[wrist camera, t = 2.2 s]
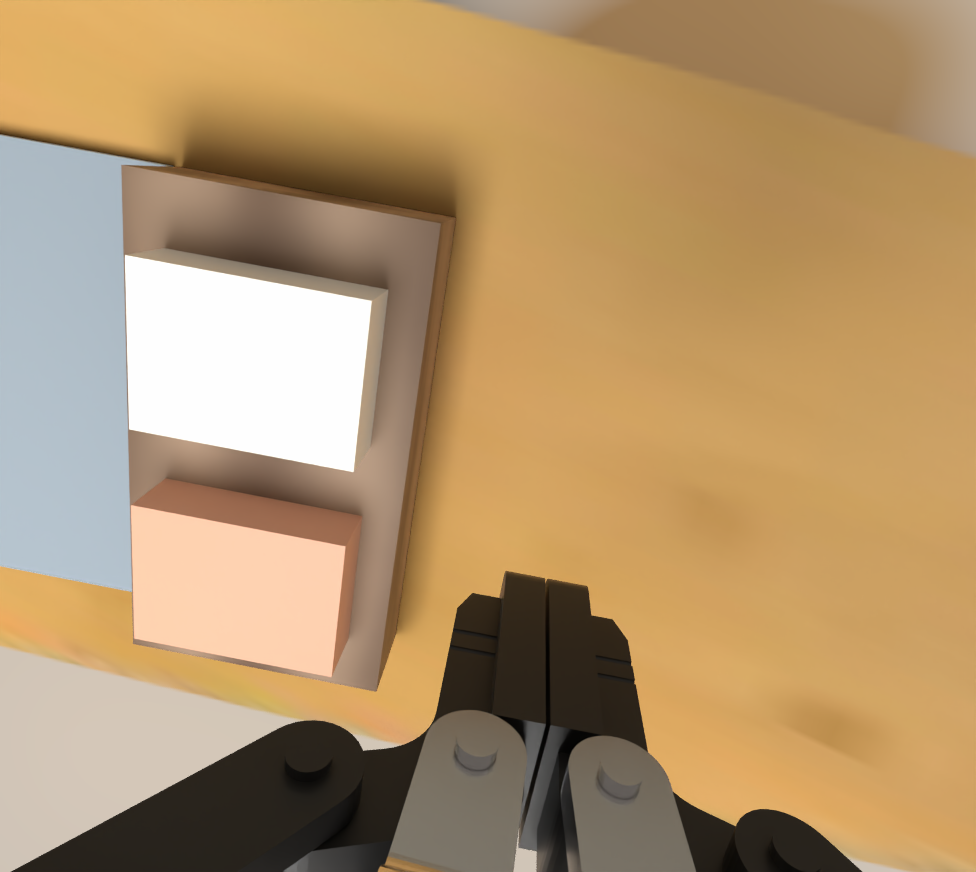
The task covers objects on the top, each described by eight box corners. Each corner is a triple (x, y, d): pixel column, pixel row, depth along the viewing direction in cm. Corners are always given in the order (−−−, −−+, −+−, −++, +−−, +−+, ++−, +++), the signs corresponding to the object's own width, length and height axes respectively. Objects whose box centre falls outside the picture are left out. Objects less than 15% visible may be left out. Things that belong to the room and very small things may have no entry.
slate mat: (173, 165, 27) (165, 165, 26) (173, 591, 34) (166, 598, 33) (-98, 115, 27) (-111, 114, 26) (-41, 549, 34) (-51, 556, 33)
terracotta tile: (362, 515, 27) (345, 546, 25) (348, 639, 29) (331, 677, 27) (165, 478, 27) (130, 505, 25) (165, 603, 29) (134, 638, 27)
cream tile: (388, 289, 24) (371, 300, 21) (370, 447, 26) (353, 472, 24) (164, 248, 24) (124, 255, 22) (165, 407, 26) (128, 429, 24)
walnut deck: (456, 217, 26) (441, 223, 23) (395, 635, 34) (376, 691, 30) (181, 167, 27) (121, 164, 23) (179, 592, 34) (133, 643, 30)
